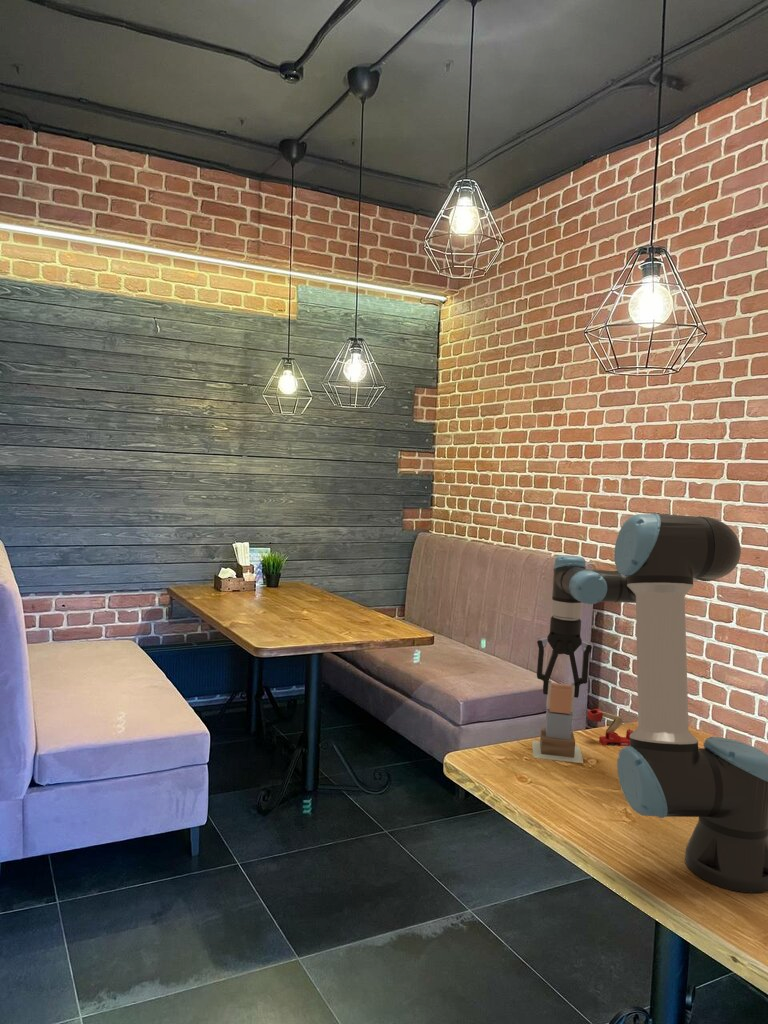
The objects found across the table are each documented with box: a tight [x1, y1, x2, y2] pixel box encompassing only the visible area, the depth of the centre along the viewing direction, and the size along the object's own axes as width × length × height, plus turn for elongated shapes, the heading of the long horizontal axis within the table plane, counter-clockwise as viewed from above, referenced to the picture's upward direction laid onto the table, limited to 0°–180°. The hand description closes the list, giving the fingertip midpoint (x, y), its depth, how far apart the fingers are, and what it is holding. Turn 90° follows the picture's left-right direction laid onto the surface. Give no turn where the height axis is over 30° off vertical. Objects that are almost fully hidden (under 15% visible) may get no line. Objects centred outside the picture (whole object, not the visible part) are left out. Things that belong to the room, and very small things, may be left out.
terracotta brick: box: [549, 682, 572, 714], centre depth 191 cm, size 5×5×6 cm
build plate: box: [531, 740, 584, 764], centre depth 191 cm, size 12×12×1 cm
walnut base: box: [539, 727, 576, 758], centre depth 191 cm, size 8×8×4 cm
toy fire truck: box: [586, 708, 634, 747], centre depth 199 cm, size 3×14×10 cm, turn 94°
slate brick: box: [544, 708, 573, 740], centre depth 191 cm, size 6×6×6 cm
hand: (559, 708), depth 191 cm, fingers closed on terracotta brick, 5 cm apart
